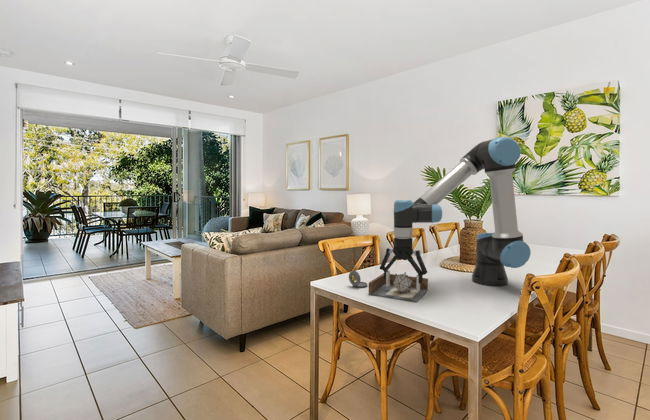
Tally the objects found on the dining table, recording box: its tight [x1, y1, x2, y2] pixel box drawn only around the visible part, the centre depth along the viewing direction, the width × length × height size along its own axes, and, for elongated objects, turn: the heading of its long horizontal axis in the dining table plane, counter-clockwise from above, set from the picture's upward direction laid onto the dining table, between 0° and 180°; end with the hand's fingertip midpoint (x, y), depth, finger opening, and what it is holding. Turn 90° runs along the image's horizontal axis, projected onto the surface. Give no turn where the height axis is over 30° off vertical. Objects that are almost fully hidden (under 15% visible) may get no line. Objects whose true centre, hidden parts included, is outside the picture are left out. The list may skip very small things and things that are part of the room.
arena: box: [368, 272, 429, 303], centre depth 142 cm, size 20×18×5 cm
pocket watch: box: [348, 265, 368, 288], centre depth 152 cm, size 8×8×10 cm
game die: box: [391, 272, 414, 294], centre depth 140 cm, size 9×8×10 cm
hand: (402, 288), depth 140 cm, fingers open, 12 cm apart
